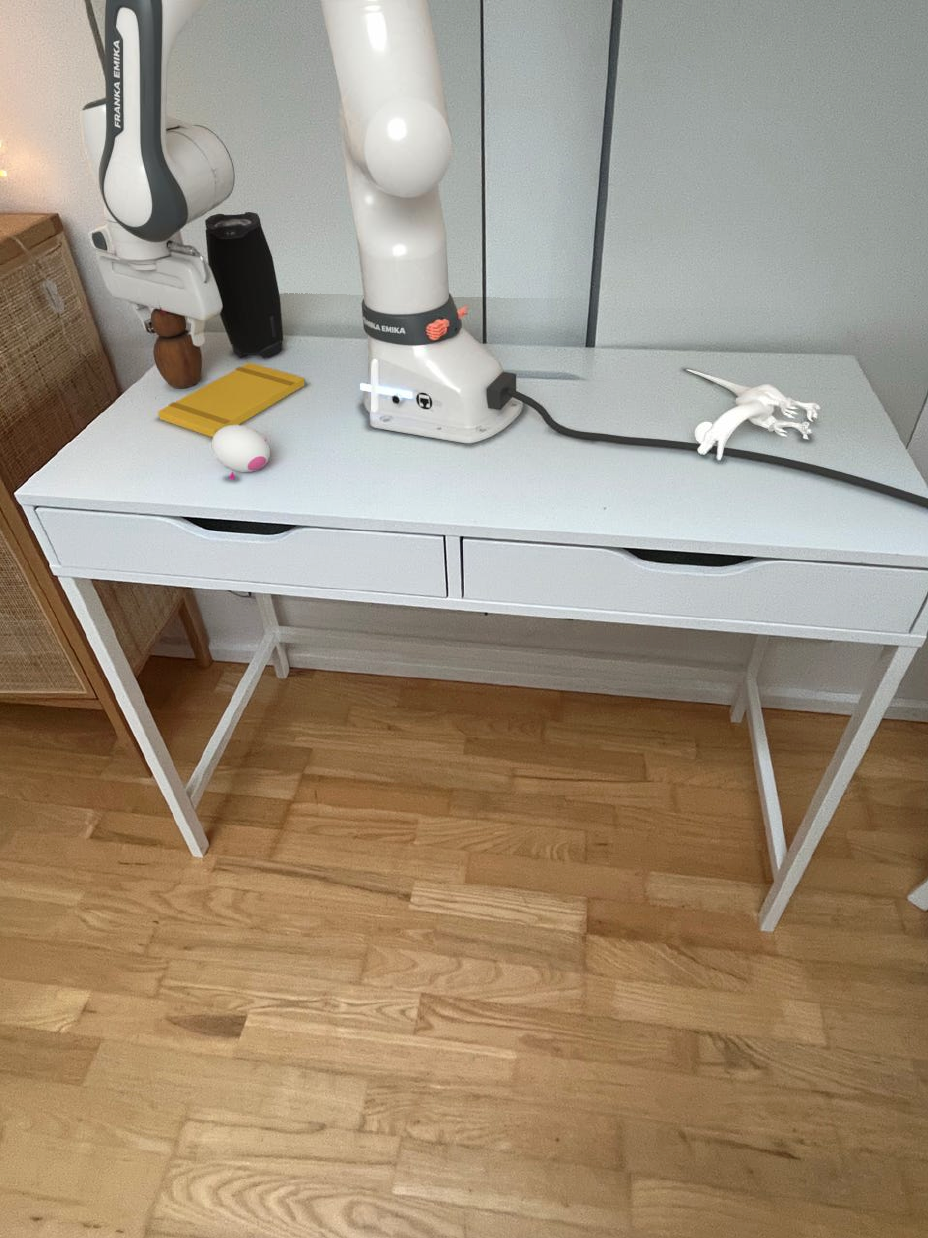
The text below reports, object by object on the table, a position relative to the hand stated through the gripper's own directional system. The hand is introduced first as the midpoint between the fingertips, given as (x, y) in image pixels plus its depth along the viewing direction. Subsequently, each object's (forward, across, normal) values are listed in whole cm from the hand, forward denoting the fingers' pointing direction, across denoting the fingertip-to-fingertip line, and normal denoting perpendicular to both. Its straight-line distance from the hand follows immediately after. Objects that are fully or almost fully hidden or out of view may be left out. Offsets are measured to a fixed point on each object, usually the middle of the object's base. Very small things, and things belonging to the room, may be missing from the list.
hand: (174, 337), depth 119 cm
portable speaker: (+7, -1, -14) cm, 16 cm away
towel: (+7, -11, +1) cm, 13 cm away
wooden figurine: (+7, 0, 0) cm, 7 cm away
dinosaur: (+7, -72, -27) cm, 78 cm away
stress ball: (+7, -25, +13) cm, 29 cm away
